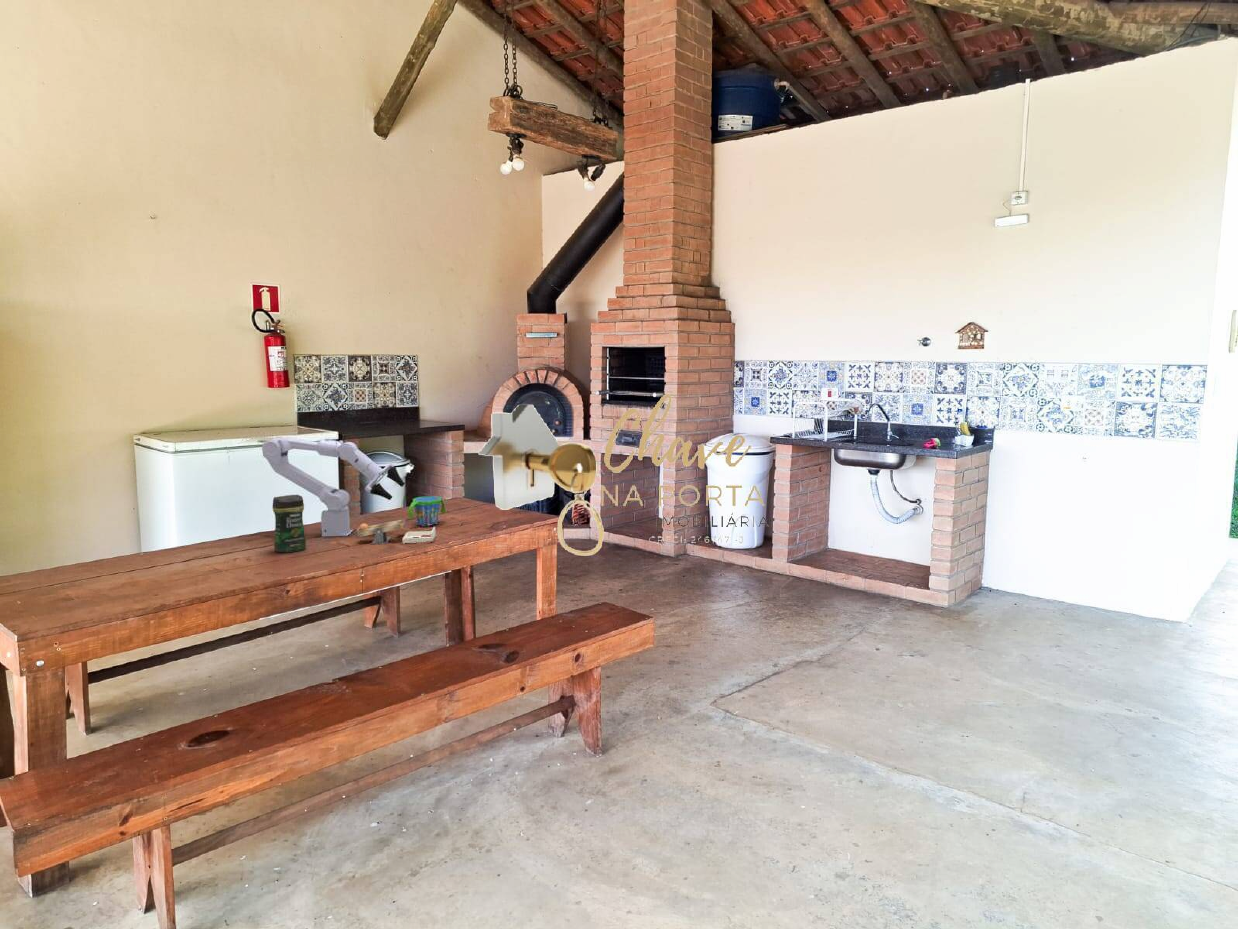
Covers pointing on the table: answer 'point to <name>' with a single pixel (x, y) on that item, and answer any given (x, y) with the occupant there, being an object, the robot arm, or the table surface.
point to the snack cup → (426, 509)
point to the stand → (380, 537)
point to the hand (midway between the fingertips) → (397, 491)
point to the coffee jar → (289, 523)
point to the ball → (364, 527)
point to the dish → (409, 536)
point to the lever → (382, 527)
